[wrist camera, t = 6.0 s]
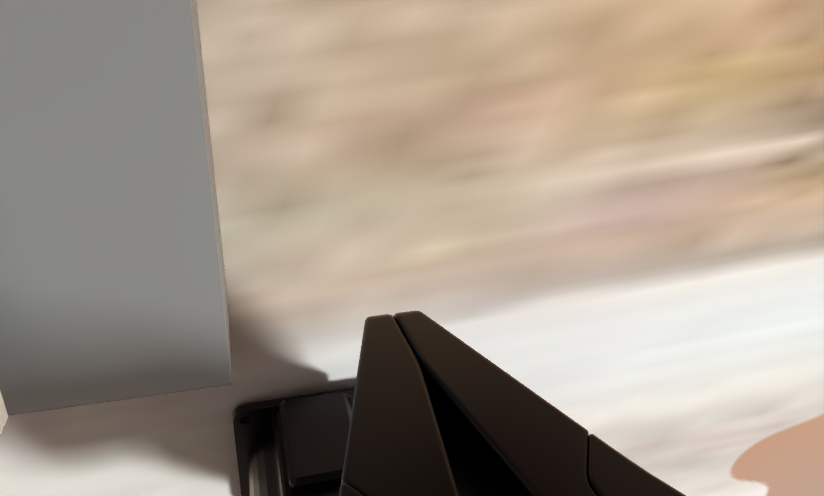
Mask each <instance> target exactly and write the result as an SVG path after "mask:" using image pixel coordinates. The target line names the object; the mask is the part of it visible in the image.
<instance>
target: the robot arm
mask: <svg viewBox="0 0 824 496" xmlns="http://www.w3.org/2000/svg"><path fill="white" fill-rule="evenodd" d="M243 416H248V417H243ZM233 424H234V433H235V442H236V451H237V459H238V468H239V477H240V486H241V495H242V496H686V495H684V494H682V493H681V492H679V491H678V490H676V489H674V488H673V487H671V486H670V485H668V484H666V483H665V482H663V481H661V480H660V479H658V478H657V477H655V476H653V475H652V474H650V473H649V472H647V471H646V470H644V469H643V468H641V467H640V466H638V465H637V464H635V463H634V462H632V461H631V460H629V459H628V458H626V457H625V456H624V455H622V454H621V453H619V452H618V451H616V450H615V449H613V448H612V447H610V446H609V445H608V444H606V443H605V442H603V441H602V440H601V439H599V438H598V437H596V436H595V435H593V434H590V435H589V433H588V431H587V430H586V429H585V428H583V427H582V426H581V425H579V424H578V423H576V422H575V421H574V420H572V419H571V418H569V417H568V416H567V415H565V414H564V413H562V412H561V411H560V410H558V409H557V408H555V407H554V406H553V405H551V404H550V403H548V402H547V401H546V400H544V399H543V398H541V397H540V396H538V395H537V394H536V393H534V392H533V391H531V390H530V389H529V388H527V387H526V386H524V385H523V384H522V383H520V382H519V381H517V380H516V379H515V378H513V377H512V376H510V375H509V374H508V373H506V372H505V371H503V370H502V369H501V368H499V367H498V366H496V365H495V364H494V363H492V362H491V361H489V360H488V359H487V358H485V357H484V356H482V355H481V354H480V353H478V352H477V351H475V350H474V349H473V348H471V347H470V346H468V345H467V344H465V343H464V342H463V341H461V340H460V339H458V338H457V337H456V336H454V335H453V334H451V333H450V332H449V331H447V330H446V329H444V328H443V327H442V326H440V325H439V324H437V323H436V322H435V321H433V320H432V319H430V318H429V317H428V316H426V315H425V314H423V313H422V312H420V311H410V312H402V313H396V314H395V315H394V316H392V315H389V314H387V315H379V316H371V317H368V318H367V319H366V320H365V325H364V332H363V339H362V346H361V352H360V359H359V366H358V372H357V379H356V386H355V388H351V389H344V390H337V391H330V392H324V393H317V394H310V395H303V396H297V397H290V398H283V399H276V400H270V401H263V402H256V403H250V404H244V405H240V406H238V407H237V408H236V409H235V410H234V412H233Z"/></svg>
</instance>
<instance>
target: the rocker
mask: <svg viewBox="0 0 824 496" xmlns="http://www.w3.org/2000/svg"><path fill="white" fill-rule="evenodd" d="M7 419H8V414H7V411H6V408H5V404H4V401H3V398H2V394H1V391H0V434H1V432H2V430H3V428H4V426H5V424H6V421H7Z"/></svg>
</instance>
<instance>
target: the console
mask: <svg viewBox="0 0 824 496" xmlns="http://www.w3.org/2000/svg"><path fill="white" fill-rule="evenodd" d="M231 384H232V375H231V354H230V333H229V311H228V301H227V291H226V282H225V272H224V263H223V253H222V244H221V234H220V224H219V215H218V205H217V196H216V186H215V177H214V167H213V158H212V148H211V139H210V129H209V120H208V110H207V101H206V91H205V82H204V72H203V63H202V53H201V44H200V34H199V24H198V15H197V5H196V0H0V391H1V394H2V398H3V401H4V404H5V408H6V411H7V414H8V415H15V414H22V413H29V412H37V411H44V410H51V409H58V408H65V407H73V406H80V405H87V404H94V403H101V402H108V401H116V400H123V399H130V398H137V397H144V396H152V395H159V394H166V393H173V392H180V391H188V390H195V389H202V388H209V387H216V386H224V385H231Z"/></svg>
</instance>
